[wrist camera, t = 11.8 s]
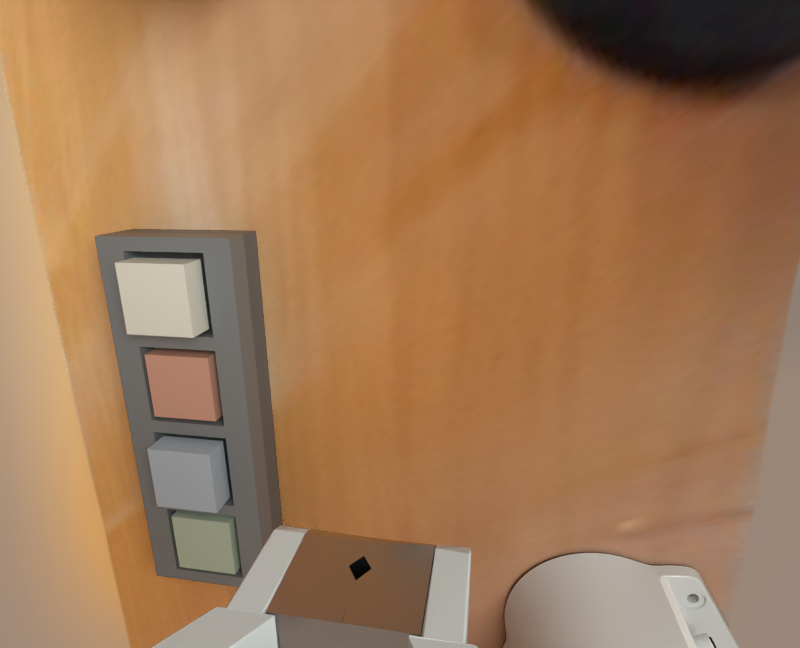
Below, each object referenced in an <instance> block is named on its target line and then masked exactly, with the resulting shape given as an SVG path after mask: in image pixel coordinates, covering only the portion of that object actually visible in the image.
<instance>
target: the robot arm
mask: <svg viewBox="0 0 800 648" xmlns="http://www.w3.org/2000/svg"><path fill="white" fill-rule="evenodd" d="M470 568H471V550H470V548H469V547H460V546H450V545H439V544H437V545H432V544H423V543H414V542H405V541H396V540H387V539H378V538H370V537H363V536H356V535H349V534H342V533H335V532H328V531H321V530H314V529H311V530H308V529H303V528H296V527H289V526H282V525H280V526H279V527H278V528H276V529H275V530H274V531H273V532H272V533H271V535H270V536H269V538H268V540H267V541H266V543H265V545H264V546H263V548H262V550H261V551H260V553H259V555H258V556H257V558H256V560H255V561H254V563H253V564H252V566H251V568H250V569H249V571H248V573H247V574H246V576H245V578H244V579H243V581H242V583H241V584H240V586H239V588H238V589H237V591H236V592H235V594H234V596H233V597H232V599H231V601H230V602H229V604H228V606H227V607H226V608H222V607H215V608H213V609H212V610H210V611H209V612H207V613H206V614H204V615H202V616H201V617H199V618H198V619H196V620H194V621H193V622H191V623H190V624H188V625H186V626H185V627H183V628H182V629H180V630H179V631H177V632H175V633H174V634H172V635H171V636H169V637H167V638H166V639H164V640H163V641H161V642H159V643H158V644H156V645H155V646H153V647H151V648H478V646H476V645H471V644H467V637H468V614H469V591H470ZM690 594H694V595H691V596H689V595H690ZM504 619H505V628H506V642H505V644H504V646H503V648H740V647H739V646H738V644H737V642H736V640H735V638H734V636H733V635H732V633H731V631H730V629H729V627H728V625H727V623H726V622H725V620H724V618H723V616H722V614H721V612H720V611H719V609H718V607H717V605H716V603H715V601H714V600H713V598H712V596H711V594H710V592H709V590H708V589H707V587H706V585H705V583H704V581H703V579H702V578H701V576H700V574H699V573H698V572H697V571H696V570H694V569H692V568H690V567H685V566H673V565H663V566H652V565H647V564H643V563H640V562H637V561H634V560H631V559H627V558H624V557H620V556H616V555H610V554H602V553H579V554H571V555H566V556H561V557H558V558H554V559H552V560H549V561H547V562H544V563H542V564H540V565H538V566H537V567H535V568H533V569H532V570H530V571H529V572H528V573H527V574H525V575H524V576H523V577H522V578H521V579H520V580H519V581H518V582H517V583H516V585H515V586H514V588H513V589H512V591H511V593H510V595H509V597H508V599H507V602H506V606H505V615H504Z"/></svg>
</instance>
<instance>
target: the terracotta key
mask: <svg viewBox="0 0 800 648" xmlns="http://www.w3.org/2000/svg"><path fill="white" fill-rule="evenodd" d="M144 356H145V362H146V367H147V373H148V379H149V385H150V391H151V397H152V403H153V409H154V415H155V417H168V418H180V419H192V420H204V421H217V420H218V419H219V418H220V417H221V416H222V415H223V412H222V404H221V396H220V388H219V379H218V371H217V363H216V355H215V351H206V350H189V349H172V348H155V349H154V350H152V351H150V352H148V353H146V354H144Z"/></svg>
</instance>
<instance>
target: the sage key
mask: <svg viewBox="0 0 800 648" xmlns="http://www.w3.org/2000/svg"><path fill="white" fill-rule="evenodd" d="M171 517H172V523H173V529H174V535H175V541H176V547H177V553H178V559H179V565H180V567H184V568H192V569H199V570H206V571H213V572H221V573H228V574H236V573H237V571H238V569H239V568H240V566H241V559H240V551H239V542H238V534H237V526H236V518H235V517H232V516H223V515H214V514H206V513H197V512H189V511H180V510H177V511H176V512H175V513H174V514H173V515H172V516H171Z"/></svg>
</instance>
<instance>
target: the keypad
mask: <svg viewBox="0 0 800 648" xmlns="http://www.w3.org/2000/svg"><path fill="white" fill-rule="evenodd" d="M95 241H96V246H97V252H98V257H99V262H100V268H101V273H102V279H103V284H104V290H105V295H106V300H107V306H108V311H109V317H110V322H111V328H112V333H113V338H114V344H115V349H116V355H117V360H118V366H119V371H120V376H121V382H122V387H123V393H124V398H125V404H126V409H127V414H128V420H129V425H130V431H131V436H132V442H133V447H134V452H135V458H136V463H137V469H138V474H139V480H140V485H141V490H142V496H143V501H144V507H145V512H146V518H147V523H148V529H149V534H150V539H151V545H152V550H153V556H154V561H155V567H156V572H157V576H164V577H171V578H178V579H185V580H193V581H200V582H207V583H214V584H221V585H228V586H235V587H239V586H240V584H241V583H242V581H243V579H244V578H245V576H246V574H247V573H248V571H249V569H250V568H251V566H252V564H253V563H254V561H255V560H256V558H257V556H258V555H259V553H260V551H261V550H262V548H263V546H264V545H265V543H266V541H267V540H268V538H269V536H270V535H271V533H272V532H273V531H274V530H275V529H276V528H278V527H279V526H280V525H282V514H281V503H280V492H279V481H278V470H277V459H276V448H275V437H274V426H273V415H272V404H271V393H270V382H269V371H268V360H267V349H266V338H265V327H264V316H263V305H262V294H261V283H260V272H259V261H258V250H257V239H256V231H229V230H162V229H131V230H125V231H120V232H114V233H109V234H103V235H98V236H95ZM134 257H137V258H177V259H200V260H201V268H202V277H203V285H204V293H205V301H206V309H207V317H208V325H209V329H208V330H206V331H204V332H203V333H201V334H199V335H198V336H196V337H194V338H187V337H168V336H149V335H131V334H127V331H126V325H125V319H124V314H123V308H122V302H121V297H120V291H119V285H118V279H117V274H116V268H115V262H119V261H123V260H127V259H130V258H134ZM155 348H172V349H189V350H206V351H215V355H216V363H217V371H218V379H219V388H220V396H221V404H222V412H223V415H222V416H221V417H220V418H219V419H218V420H217V421H204V420H192V419H180V418H168V417H155V415H154V409H153V403H152V397H151V391H150V385H149V379H148V373H147V367H146V362H145V356H144V354H146V353H148V352H150V351H152V350H154V349H155ZM163 436H172V437H183V438H194V439H205V440H217V441H223V445H224V453H225V461H226V469H227V477H228V485H229V493H230V498H229V499H228V500H227V501H226V503H225V504H224V505H223V506H222V508H221V509H220V510H219V511H218V513H211V512H202V511H194V510H185V509H176V508H168V507H159V506H157V502H156V496H155V491H154V485H153V479H152V474H151V468H150V462H149V457H148V451H147V449H148V448H149V447H150V446H152V445H153V444H154V443H155V442H157V441H158V440H159V439H160V438H161V437H163ZM177 510H180V511H189V512H197V513H206V514H214V515H223V516H232V517H235V518H236V526H237V534H238V542H239V551H240V559H241V566H240V568H239V569H238V571H237V573H236V574H228V573H221V572H213V571H206V570H199V569H192V568H184V567H180V565H179V559H178V553H177V547H176V541H175V535H174V529H173V523H172V517H171V516H172V515H173V514H174V513H175V512H176V511H177ZM282 526H283V525H282Z"/></svg>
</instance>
